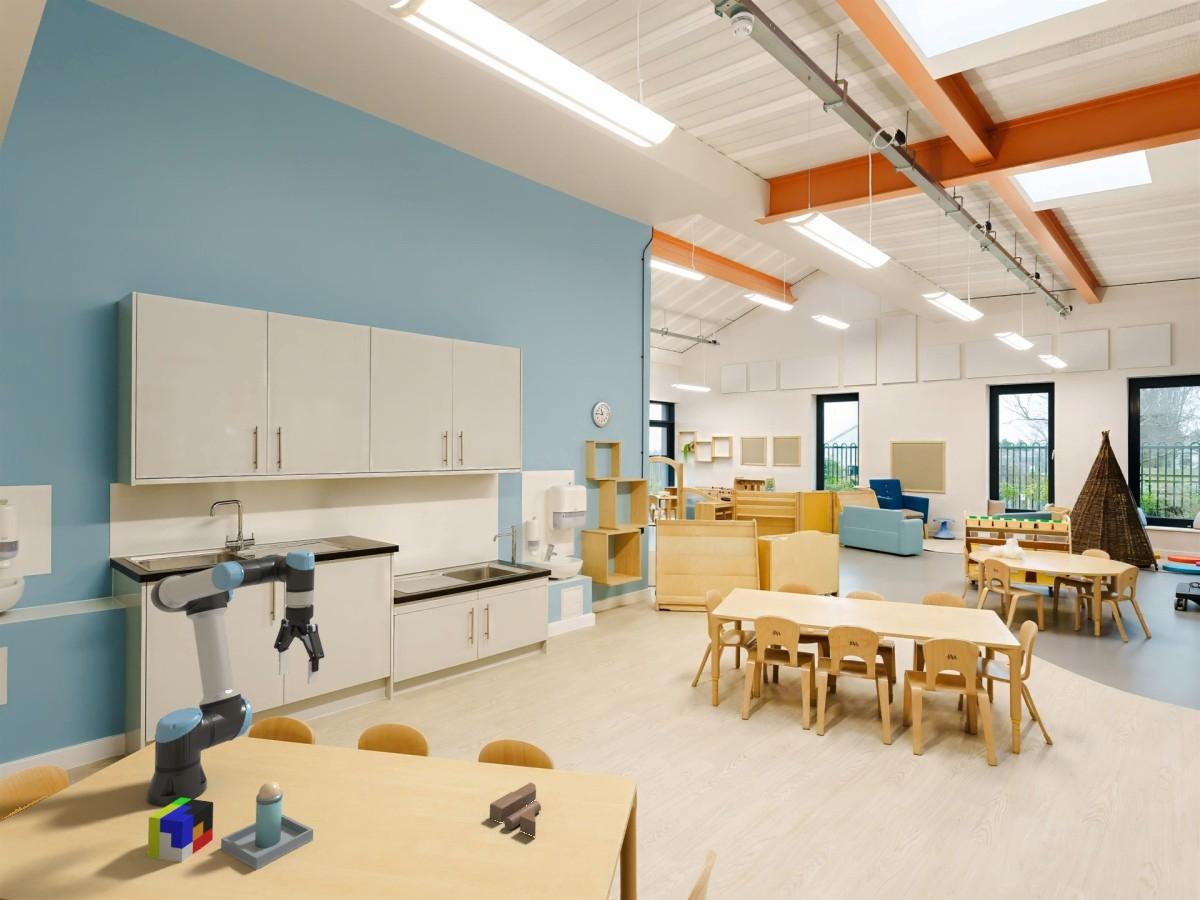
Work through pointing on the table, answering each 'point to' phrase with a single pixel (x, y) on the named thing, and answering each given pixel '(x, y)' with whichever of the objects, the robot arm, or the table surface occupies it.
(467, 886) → the table surface
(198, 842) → the puzzle toy
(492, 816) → the wooden block set
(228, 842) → the tray
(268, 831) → the ball tube
